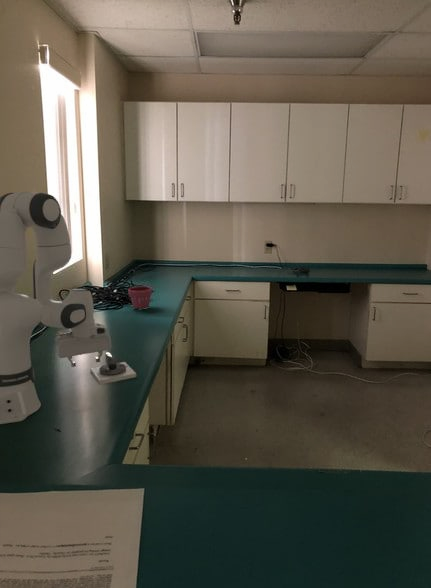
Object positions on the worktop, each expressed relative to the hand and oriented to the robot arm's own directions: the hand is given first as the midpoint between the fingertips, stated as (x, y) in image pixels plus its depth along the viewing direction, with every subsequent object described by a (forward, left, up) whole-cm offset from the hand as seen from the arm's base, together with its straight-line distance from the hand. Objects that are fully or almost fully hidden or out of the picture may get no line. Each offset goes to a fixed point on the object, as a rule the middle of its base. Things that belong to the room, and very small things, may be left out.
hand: (85, 364), depth 173 cm
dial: (+9, -5, -2) cm, 10 cm away
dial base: (+9, -6, -4) cm, 11 cm away
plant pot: (+53, +88, -4) cm, 103 cm away
